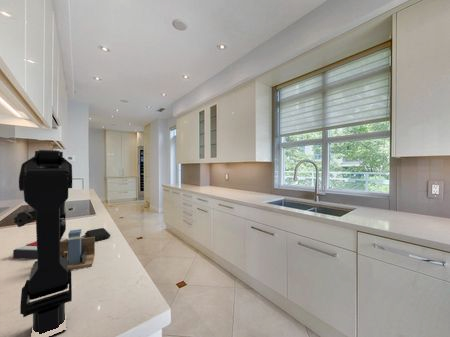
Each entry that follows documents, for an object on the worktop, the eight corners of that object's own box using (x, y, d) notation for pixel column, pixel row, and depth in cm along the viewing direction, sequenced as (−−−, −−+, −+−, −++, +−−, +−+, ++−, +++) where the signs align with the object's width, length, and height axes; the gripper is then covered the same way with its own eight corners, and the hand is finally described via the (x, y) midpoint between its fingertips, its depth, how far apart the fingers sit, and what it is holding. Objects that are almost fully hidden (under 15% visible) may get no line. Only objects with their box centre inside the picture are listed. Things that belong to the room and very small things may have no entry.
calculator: (68, 237, 96) (38, 249, 81) (68, 246, 96) (37, 259, 81) (47, 236, 96) (12, 248, 81) (46, 245, 96) (12, 258, 81)
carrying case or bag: (82, 236, 107) (86, 244, 96) (82, 230, 107) (86, 238, 96) (104, 231, 114) (111, 239, 104) (104, 226, 114) (111, 233, 104)
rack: (92, 266, 76) (92, 245, 76) (44, 275, 69) (44, 253, 69) (94, 254, 85) (94, 236, 85) (52, 261, 78) (52, 242, 78)
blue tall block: (79, 262, 76) (79, 232, 76) (68, 264, 75) (68, 233, 74) (81, 258, 80) (81, 229, 80) (70, 260, 78) (70, 230, 78)
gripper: (21, 196, 64) (21, 243, 64) (9, 206, 50) (9, 267, 50) (65, 193, 71) (65, 236, 71) (65, 202, 57) (65, 255, 57)
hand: (53, 247), depth 62 cm, fingers open, 9 cm apart
